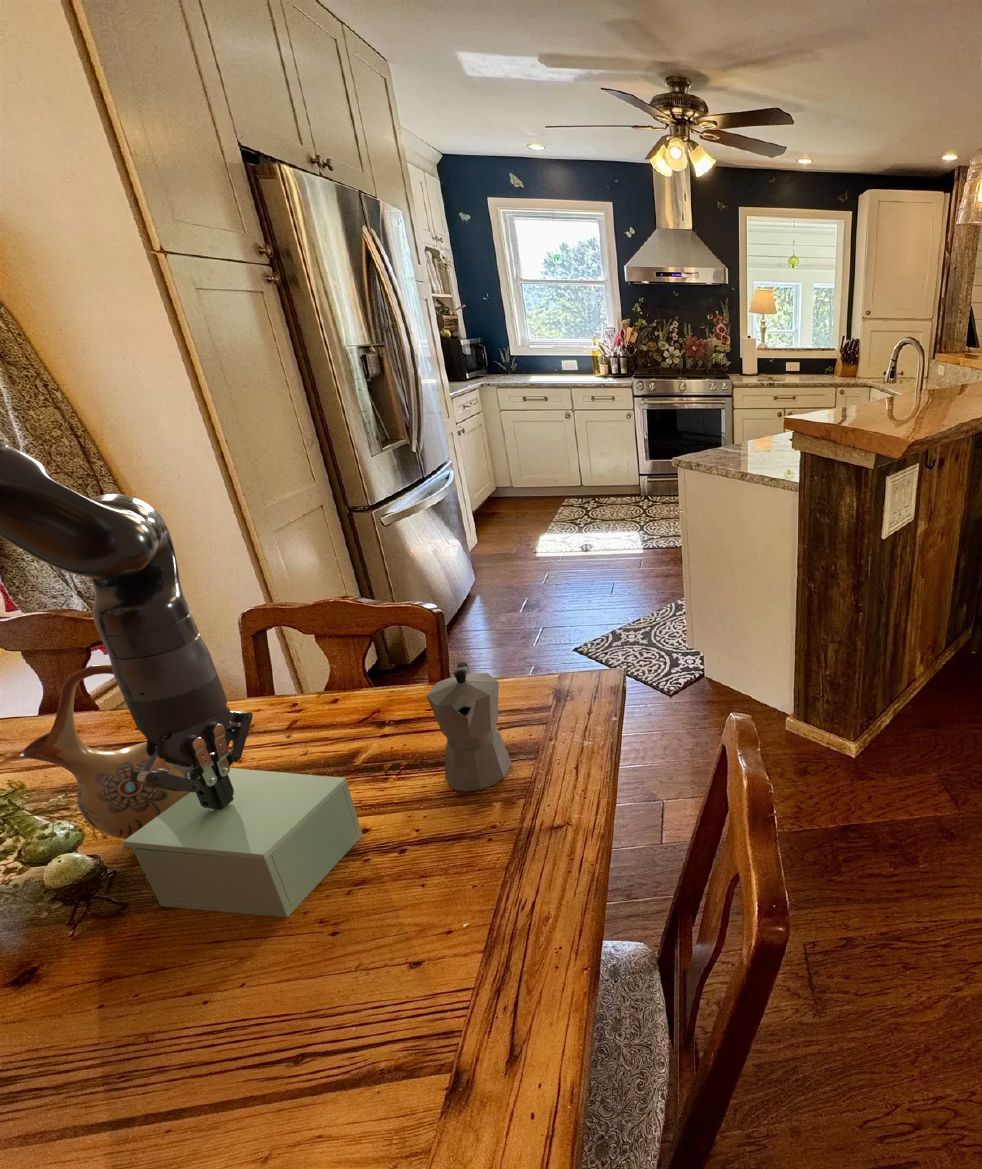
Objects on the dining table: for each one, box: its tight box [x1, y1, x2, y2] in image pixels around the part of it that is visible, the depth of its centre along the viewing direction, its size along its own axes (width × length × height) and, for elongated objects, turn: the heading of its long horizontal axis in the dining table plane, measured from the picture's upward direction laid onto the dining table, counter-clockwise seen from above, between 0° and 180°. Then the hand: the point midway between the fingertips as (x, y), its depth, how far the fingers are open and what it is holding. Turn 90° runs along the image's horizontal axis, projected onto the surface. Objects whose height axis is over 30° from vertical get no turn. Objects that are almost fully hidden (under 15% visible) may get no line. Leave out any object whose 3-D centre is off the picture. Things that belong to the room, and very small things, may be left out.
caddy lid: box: [122, 767, 348, 860], centre depth 74 cm, size 16×13×1 cm
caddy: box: [132, 782, 364, 918], centre depth 76 cm, size 16×13×9 cm
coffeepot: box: [426, 661, 513, 792], centre depth 93 cm, size 15×9×18 cm, turn 26°
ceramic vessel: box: [19, 664, 190, 840], centre depth 78 cm, size 16×9×25 cm, turn 131°
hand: (220, 804), depth 74 cm, fingers closed
